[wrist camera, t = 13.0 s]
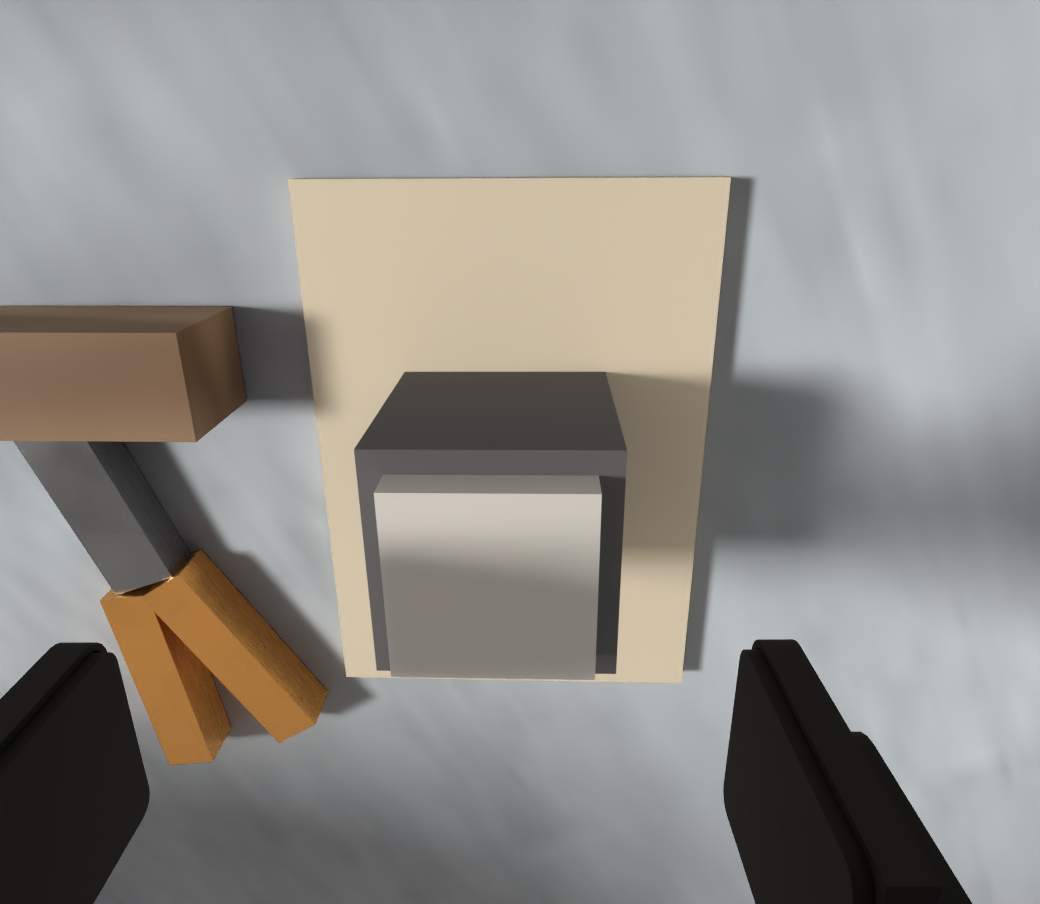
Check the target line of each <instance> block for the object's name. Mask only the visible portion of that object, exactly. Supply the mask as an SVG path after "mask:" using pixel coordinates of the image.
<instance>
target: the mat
mask: <svg viewBox="0 0 1040 904" xmlns="http://www.w3.org/2000/svg"><path fill="white" fill-rule="evenodd" d="M730 182H731V177H528V178H304V179H288V185H289V194H290V202H291V211H292V219H293V228H294V236H295V245H296V253H297V262H298V270H299V279H300V287H301V296H302V304H303V313H304V321H305V330H306V338H307V347H308V355H309V364H310V372H311V381H312V389H313V398H314V406H315V415H316V423H317V432H318V440H319V449H320V457H321V466H322V474H323V483H324V491H325V500H326V508H327V517H328V525H329V534H330V542H331V551H332V559H333V568H334V576H335V585H336V593H337V602H338V610H339V619H340V627H341V636H342V644H343V653H344V661H345V670H346V677H374V678H425V677H391V671H377V669H376V659H375V649H374V640H373V630H372V620H371V611H370V601H369V591H368V581H367V572H366V562H365V552H364V543H363V533H362V523H361V513H360V504H359V494H358V484H357V475H356V465H355V455H354V449H355V447H356V446H357V444H358V442H359V441H360V439H361V438H362V436H363V435H364V433H365V432H366V430H367V429H368V427H369V426H370V424H371V423H372V421H373V420H374V418H375V416H376V415H377V413H378V412H379V410H380V409H381V407H382V406H383V404H384V403H385V401H386V400H387V398H388V397H389V395H390V394H391V392H392V390H393V389H394V387H395V386H396V384H397V383H398V381H399V380H400V378H401V377H402V375H403V374H404V372H606V376H607V379H608V383H609V386H610V390H611V394H612V397H613V401H614V404H615V408H616V412H617V415H618V419H619V422H620V426H621V430H622V433H623V437H624V440H625V444H626V448H627V466H626V486H625V506H624V526H623V546H622V566H621V586H620V605H619V625H618V645H617V665H616V674H595V680H564V679H494V678H430V679H487V680H543V681H599V682H655V683H682V673H683V662H684V652H685V642H686V632H687V621H688V611H689V601H690V591H691V581H692V570H693V560H694V550H695V540H696V530H697V519H698V509H699V499H700V489H701V478H702V468H703V458H704V448H705V438H706V427H707V417H708V407H709V397H710V387H711V376H712V366H713V356H714V346H715V336H716V325H717V315H718V305H719V295H720V284H721V274H722V264H723V254H724V244H725V233H726V223H727V213H728V203H729V193H730Z"/></svg>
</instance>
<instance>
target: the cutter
mask: <svg viewBox="0 0 1040 904" xmlns="http://www.w3.org/2000/svg"><path fill="white" fill-rule="evenodd" d="M14 443H15V444H16V446H17V447H18V449H19V450H20V452H21V453H22V455H23V456H24V458H25V459H26V461H27V462H28V464H29V465H30V467H31V468H32V470H33V471H34V473H35V474H36V476H37V477H38V479H39V480H40V482H41V483H42V485H43V486H44V488H45V489H46V491H47V492H48V494H49V495H50V497H51V498H52V500H53V501H54V503H55V504H56V506H57V507H58V509H59V510H60V512H61V513H62V515H63V516H64V518H65V519H66V521H67V522H68V524H69V525H70V527H71V528H72V530H73V531H74V533H75V534H76V536H77V537H78V539H79V540H80V542H81V543H82V545H83V546H84V548H85V549H86V551H87V552H88V554H89V555H90V557H91V558H92V560H93V561H94V563H95V564H96V566H97V567H98V569H99V570H100V572H101V573H102V575H103V576H104V578H105V579H106V581H107V582H108V584H109V585H110V587H111V588H112V589H111V590H110V591H109V592H108V593H107V594H106V595H105V596H104V597H103V598H102V599H101V600H100V602H101V605H102V607H103V609H104V612H105V614H106V616H107V619H108V621H109V623H110V626H111V628H112V631H113V633H114V635H115V638H116V640H117V642H118V645H119V647H120V649H121V652H122V654H123V656H124V659H125V661H126V664H127V666H128V668H129V671H130V673H131V675H132V678H133V680H134V682H135V685H136V687H137V689H138V692H139V694H140V697H141V699H142V701H143V704H144V706H145V708H146V711H147V713H148V715H149V718H150V720H151V722H152V725H153V727H154V730H155V732H156V734H157V737H158V739H159V741H160V744H161V746H162V748H163V751H164V753H165V755H166V758H167V760H168V763H169V765H177V764H188V763H199V762H210V761H213V760H214V759H215V757H216V755H217V753H218V751H219V749H220V748H221V746H222V744H223V742H224V740H225V739H226V737H227V735H228V733H229V731H230V729H231V726H230V723H229V720H228V718H227V715H226V712H225V710H224V707H223V704H222V702H221V699H220V696H219V693H218V691H217V688H216V685H215V683H214V680H213V677H212V675H211V672H212V673H213V674H214V675H215V676H216V677H217V678H218V679H219V680H220V681H221V682H222V684H223V685H224V686H225V687H226V688H227V689H228V690H229V691H230V692H231V693H232V694H233V695H234V696H235V697H236V698H237V699H238V700H239V701H240V702H241V704H242V705H243V706H244V707H245V708H246V709H247V710H248V711H249V712H250V713H251V714H252V715H253V716H254V717H255V718H256V719H257V720H258V721H259V722H260V724H261V725H262V726H263V727H264V728H265V729H266V730H267V731H268V732H269V733H270V734H271V735H272V736H273V737H274V738H275V739H276V740H277V741H278V743H280V742H282V741H284V740H286V739H288V738H290V737H292V736H293V735H295V734H297V733H299V732H301V731H303V730H305V729H307V728H309V727H311V726H313V725H315V724H316V721H317V719H318V716H319V714H320V711H321V709H322V706H323V704H324V702H325V699H326V697H327V694H328V691H327V690H326V689H325V688H324V687H323V686H322V684H321V683H320V682H319V681H318V680H317V679H316V678H315V677H314V675H313V674H312V673H311V672H310V671H309V670H308V669H307V668H306V666H305V665H304V664H303V663H302V662H301V661H300V660H299V659H298V657H297V656H296V655H295V654H294V653H293V652H292V651H291V650H290V649H289V647H288V646H287V645H286V644H285V643H284V642H283V641H282V640H281V638H280V637H279V636H278V635H277V634H276V633H275V632H274V631H273V629H272V628H271V627H270V626H269V625H268V624H267V623H266V622H265V620H264V619H263V618H262V617H261V616H260V615H259V614H258V613H257V611H256V610H255V609H254V608H253V607H252V606H251V605H250V604H249V602H248V601H247V600H246V599H245V598H244V597H243V596H242V595H241V593H240V592H239V591H238V590H237V589H236V588H235V587H234V586H233V584H232V583H231V582H230V581H229V580H228V579H227V578H226V577H225V576H224V574H223V573H222V572H221V571H220V570H219V569H218V568H217V567H216V565H215V564H214V563H213V562H212V561H211V560H210V559H209V558H208V556H207V555H206V554H205V553H204V552H203V551H202V550H199V551H197V552H196V553H194V554H192V555H191V553H190V552H189V550H188V548H187V547H186V545H185V543H184V542H183V540H182V538H181V537H180V535H179V533H178V532H177V530H176V529H175V527H174V525H173V524H172V522H171V520H170V519H169V517H168V515H167V514H166V512H165V510H164V509H163V507H162V506H161V504H160V502H159V501H158V499H157V497H156V496H155V494H154V492H153V491H152V489H151V487H150V486H149V484H148V483H147V481H146V479H145V478H144V476H143V474H142V473H141V471H140V469H139V468H138V466H137V464H136V463H135V461H134V460H133V458H132V456H131V455H130V453H129V451H128V450H127V448H126V446H125V445H124V443H123V442H114V441H14ZM210 671H211V672H210Z"/></svg>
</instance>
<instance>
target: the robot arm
mask: <svg viewBox="0 0 1040 904" xmlns="http://www.w3.org/2000/svg"><path fill="white" fill-rule="evenodd" d="M149 794H150V792H149V786H148V781H147V777H146V773H145V769H144V765H143V761H142V757H141V753H140V749H139V745H138V741H137V737H136V733H135V729H134V725H133V721H132V717H131V713H130V709H129V705H128V701H127V697H126V693H125V689H124V685H123V681H122V676H121V672H120V668H119V664H118V661H117V658H116V656H115V655H114V654H113V653H110V652H107V651H106V648H105V647H104V646H103V645H102V644H100V643H59V644H55V645H54V646H53V647H51V648H50V649H49V650H48V651H47V652H46V653H45V654H44V655H43V656H42V657H41V658H40V659H39V660H38V661H37V662H36V663H35V664H34V665H33V666H32V667H31V668H30V669H29V670H28V672H27V673H26V674H25V675H24V676H23V677H22V678H21V679H20V680H19V681H18V682H17V683H16V684H15V685H14V686H13V687H12V688H11V689H10V690H9V691H8V692H7V693H6V694H5V695H4V696H3V697H2V698H1V699H0V904H93V903H94V902H95V900H96V898H97V896H98V895H99V893H100V891H101V890H102V888H103V886H104V884H105V883H106V881H107V879H108V877H109V876H110V874H111V872H112V871H113V869H114V867H115V865H116V864H117V862H118V860H119V859H120V857H121V855H122V853H123V852H124V850H125V848H126V847H127V845H128V843H129V841H130V840H131V838H132V836H133V834H134V833H135V831H136V829H137V828H138V826H139V824H140V822H141V821H142V819H143V817H144V815H145V813H146V810H147V807H148V803H149ZM724 804H725V809H726V813H727V817H728V820H729V823H730V826H731V829H732V832H733V835H734V838H735V841H736V844H737V848H738V851H739V854H740V857H741V860H742V863H743V866H744V869H745V872H746V876H747V879H748V882H749V885H750V888H751V891H752V894H753V897H754V900H755V903H756V904H972V903H971V901H970V899H969V898H968V896H967V894H966V893H965V891H964V890H963V888H962V886H961V885H960V883H959V881H958V880H957V878H956V877H955V875H954V873H953V872H952V870H951V869H950V867H949V865H948V864H947V862H946V860H945V859H944V857H943V856H942V854H941V852H940V851H939V849H938V847H937V846H936V844H935V843H934V841H933V839H932V838H931V836H930V835H929V833H928V831H927V830H926V828H925V826H924V825H923V823H922V822H921V820H920V818H919V817H918V815H917V813H916V812H915V810H914V809H913V807H912V805H911V804H910V802H909V801H908V799H907V797H906V796H905V794H904V792H903V791H902V789H901V788H900V786H899V784H898V783H897V781H896V779H895V778H894V776H893V775H892V773H891V771H890V770H889V768H888V767H887V765H886V763H885V762H884V760H883V758H882V757H881V755H880V754H879V752H878V750H877V749H876V747H875V745H874V744H873V743H872V741H871V740H870V739H869V738H868V736H867V735H865V734H863V733H862V732H851V731H850V729H849V728H848V726H847V724H846V723H845V721H844V719H843V718H842V716H841V714H840V713H839V711H838V709H837V707H836V706H835V704H834V702H833V701H832V699H831V697H830V696H829V694H828V692H827V691H826V689H825V687H824V685H823V684H822V682H821V680H820V679H819V677H818V675H817V674H816V672H815V670H814V669H813V667H812V665H811V663H810V662H809V660H808V658H807V657H806V655H805V653H804V652H803V650H802V648H801V647H800V645H799V644H798V642H797V641H795V640H793V639H791V640H756V641H755V642H754V644H753V646H752V650H743V651H742V652H741V655H740V660H739V668H738V676H737V684H736V692H735V700H734V708H733V716H732V724H731V732H730V740H729V748H728V755H727V763H726V771H725V779H724Z"/></svg>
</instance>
